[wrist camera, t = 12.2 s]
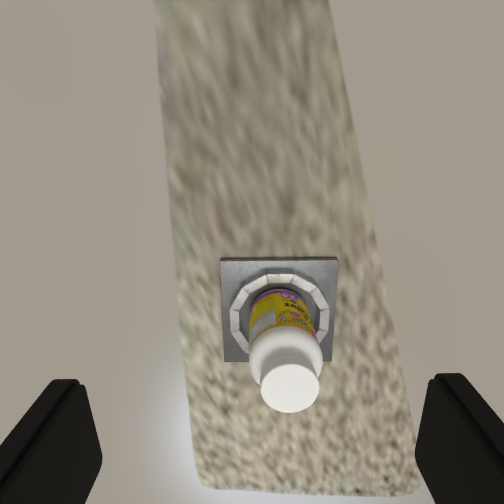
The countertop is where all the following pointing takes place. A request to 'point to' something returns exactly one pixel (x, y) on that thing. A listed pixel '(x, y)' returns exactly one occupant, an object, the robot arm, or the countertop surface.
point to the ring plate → (276, 277)
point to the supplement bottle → (284, 351)
